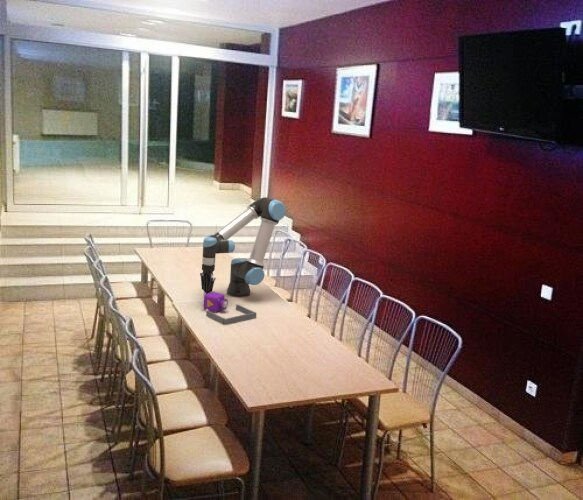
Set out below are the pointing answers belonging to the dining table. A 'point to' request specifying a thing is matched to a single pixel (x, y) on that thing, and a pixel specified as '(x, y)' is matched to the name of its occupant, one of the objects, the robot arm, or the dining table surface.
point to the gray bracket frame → (247, 316)
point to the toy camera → (215, 302)
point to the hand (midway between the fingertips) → (206, 302)
